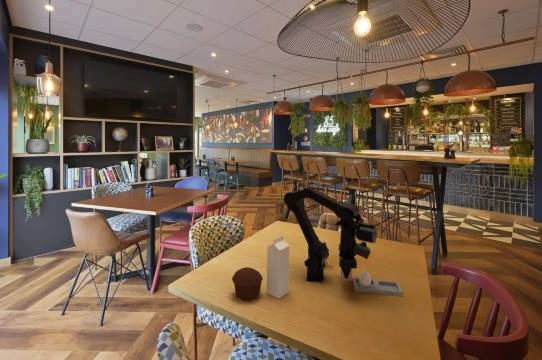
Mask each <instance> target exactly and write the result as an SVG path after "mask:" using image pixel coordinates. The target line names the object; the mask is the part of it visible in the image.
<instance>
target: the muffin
mask: <svg viewBox="0 0 542 360" xmlns="http://www.w3.org/2000/svg"><path fill="white" fill-rule="evenodd" d="M263 280H264V278H263V276H262V274H261V273H260V272H259V271H258V270H257V269H255V268H254V267H249V266H248V267H247V266H246V267H242V268H239V269H238V270H236V271H235V273H234V274H233V275H232V277H231V281H232V283H233V284H234V289H235V296H236V298H237V299H238V300H240V301H242V302H244V301H246V302H251V301H253V300H257V298H258V297H259V296H260V292H261V287H262V281H263Z"/></svg>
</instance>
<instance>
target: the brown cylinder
mask: <svg viewBox="0 0 542 360" xmlns="http://www.w3.org/2000/svg"><path fill="white" fill-rule="evenodd" d="M339 277H340V278H339V279H341V280H342V281H345V282H350V281H353V280H352V279H353V268H351V270H350V273H349V277H348V279H347V278H345V277H344V274H343V272H342V269H341V268H340V276H339Z"/></svg>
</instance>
